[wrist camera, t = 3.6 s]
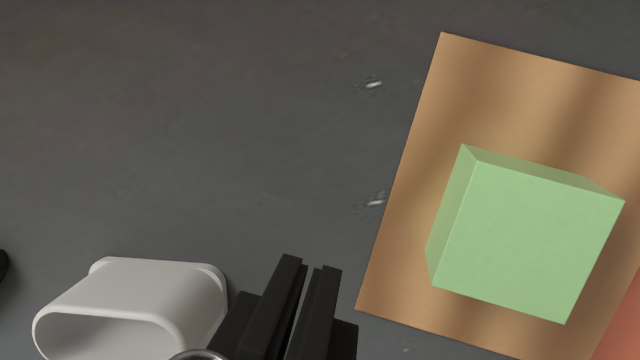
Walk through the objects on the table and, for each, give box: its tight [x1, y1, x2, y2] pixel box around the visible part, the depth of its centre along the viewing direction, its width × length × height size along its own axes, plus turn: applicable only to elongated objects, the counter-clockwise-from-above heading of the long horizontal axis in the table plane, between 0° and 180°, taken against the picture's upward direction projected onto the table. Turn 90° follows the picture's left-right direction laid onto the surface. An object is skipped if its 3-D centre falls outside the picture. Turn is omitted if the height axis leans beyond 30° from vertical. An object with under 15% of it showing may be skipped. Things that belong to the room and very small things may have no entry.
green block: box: [424, 143, 626, 325], centre depth 23 cm, size 7×7×4 cm
